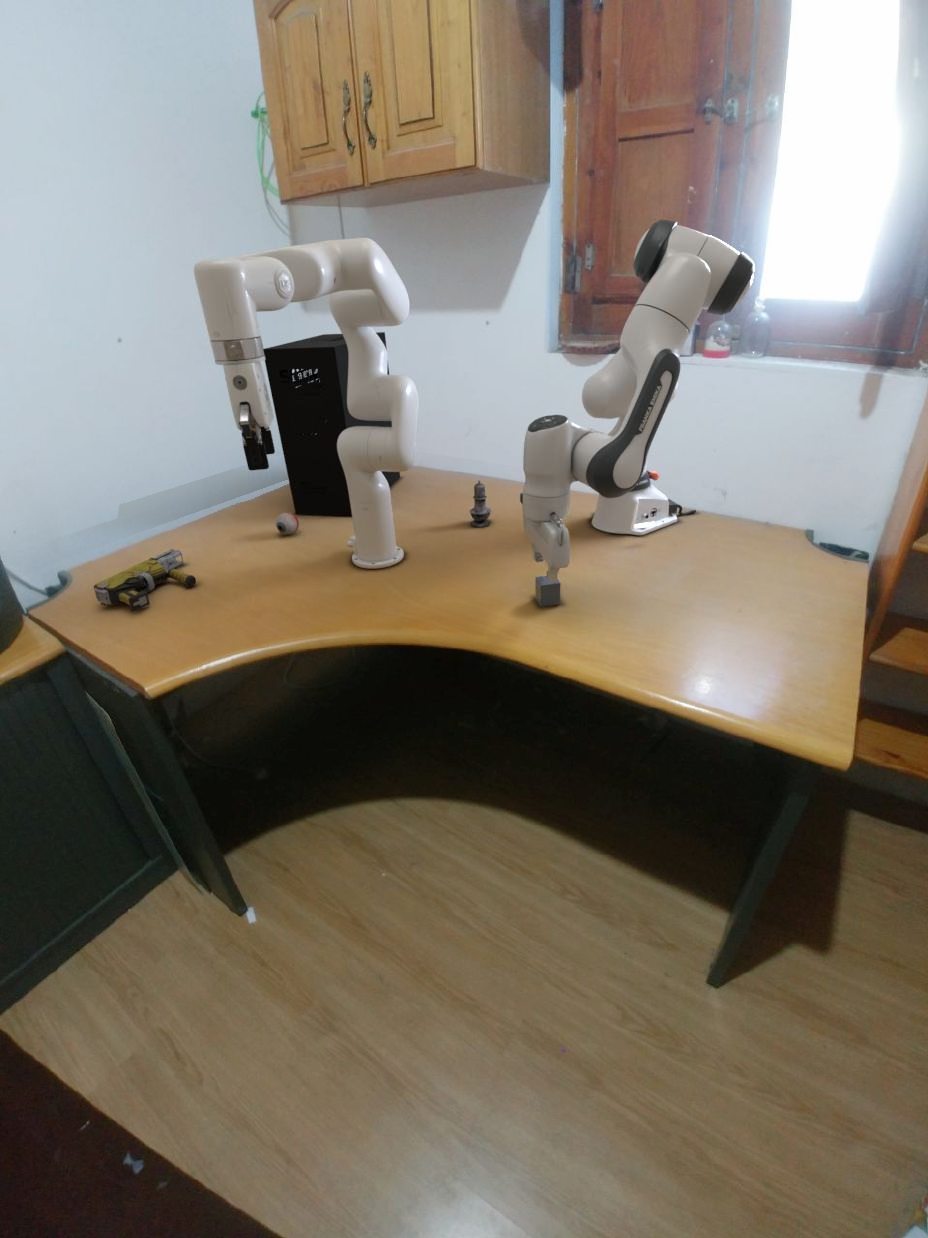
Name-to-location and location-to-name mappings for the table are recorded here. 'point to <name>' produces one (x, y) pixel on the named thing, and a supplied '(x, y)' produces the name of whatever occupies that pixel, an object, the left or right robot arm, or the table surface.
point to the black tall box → (315, 420)
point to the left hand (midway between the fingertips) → (262, 461)
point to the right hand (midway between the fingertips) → (545, 569)
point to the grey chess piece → (480, 507)
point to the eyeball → (287, 523)
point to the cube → (547, 591)
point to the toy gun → (141, 581)
